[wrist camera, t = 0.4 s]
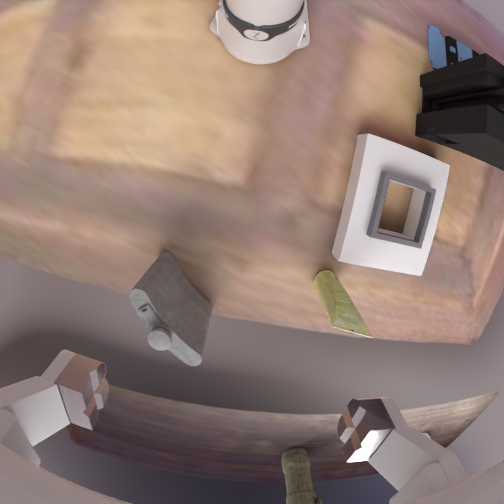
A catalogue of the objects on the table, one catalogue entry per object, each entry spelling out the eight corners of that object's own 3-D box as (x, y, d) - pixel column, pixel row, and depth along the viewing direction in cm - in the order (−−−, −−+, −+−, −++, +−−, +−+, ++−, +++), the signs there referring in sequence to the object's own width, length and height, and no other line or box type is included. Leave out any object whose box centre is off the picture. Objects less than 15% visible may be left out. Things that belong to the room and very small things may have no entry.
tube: (313, 296, 60) (339, 351, 41) (307, 275, 58) (332, 326, 40) (338, 286, 59) (373, 338, 41) (333, 265, 58) (368, 312, 39)
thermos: (271, 455, 78) (279, 545, 45) (302, 442, 76) (318, 535, 43) (286, 463, 81) (296, 547, 47) (315, 451, 79) (333, 537, 45)
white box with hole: (357, 134, 50) (372, 132, 43) (436, 164, 51) (455, 166, 45) (331, 253, 57) (341, 265, 50) (410, 267, 58) (425, 279, 52)
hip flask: (215, 308, 60) (204, 371, 41) (200, 317, 61) (184, 380, 42) (168, 248, 56) (133, 292, 37) (153, 259, 57) (114, 305, 38)
